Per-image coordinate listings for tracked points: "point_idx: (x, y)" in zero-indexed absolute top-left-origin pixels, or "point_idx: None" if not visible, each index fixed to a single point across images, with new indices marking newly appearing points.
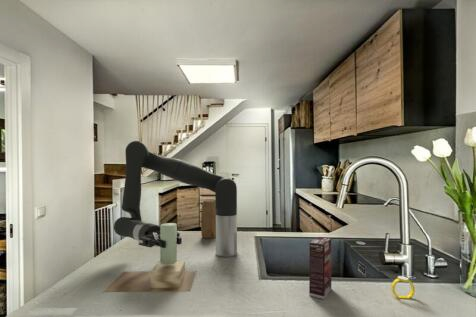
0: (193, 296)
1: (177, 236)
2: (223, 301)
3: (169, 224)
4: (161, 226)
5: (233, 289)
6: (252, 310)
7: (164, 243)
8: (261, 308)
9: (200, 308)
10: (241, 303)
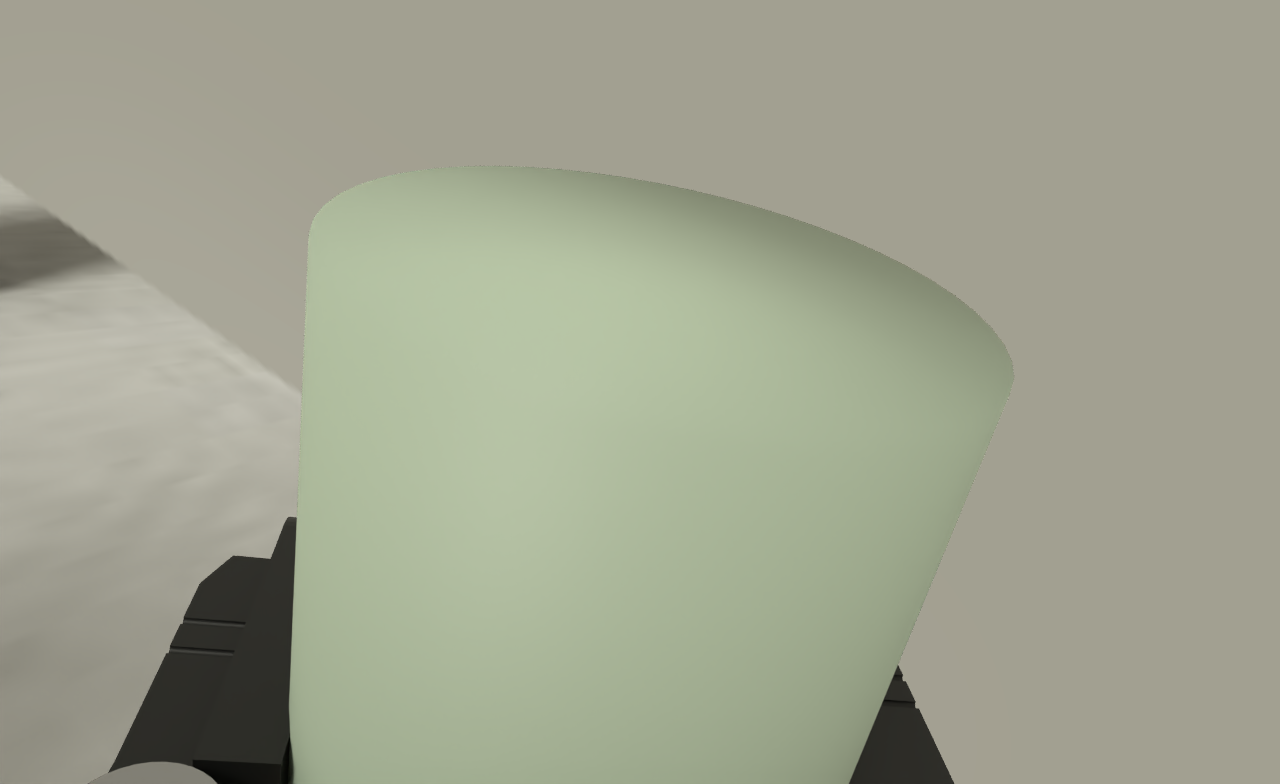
0: None
1: (245, 635)
2: None
3: (615, 271)
4: (976, 333)
5: (48, 615)
6: None
7: None
8: (259, 406)
9: None
10: (271, 484)
